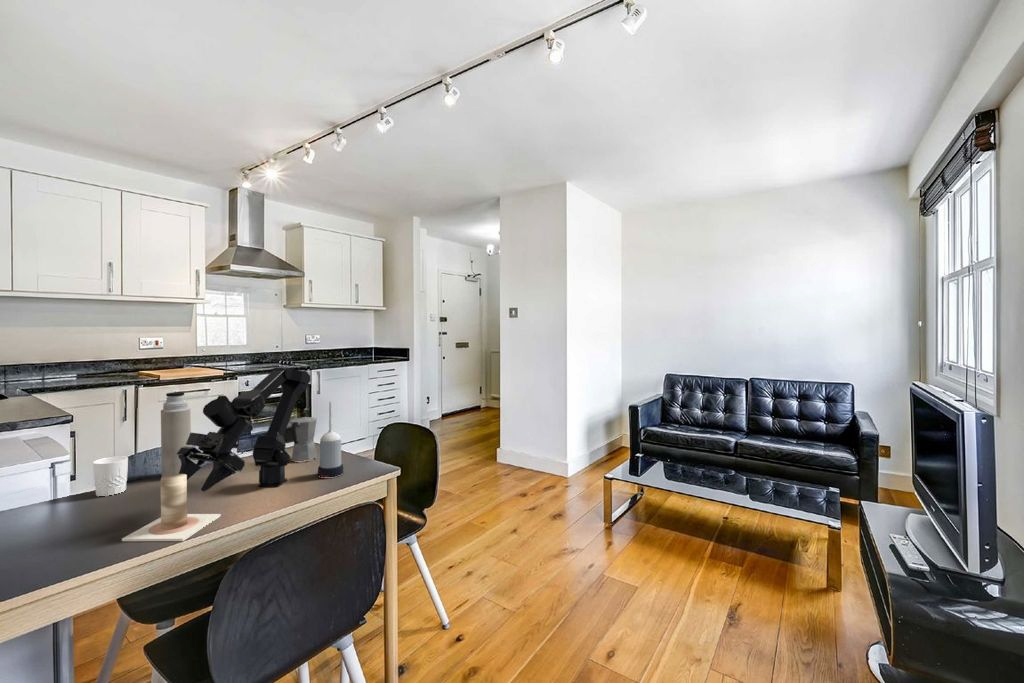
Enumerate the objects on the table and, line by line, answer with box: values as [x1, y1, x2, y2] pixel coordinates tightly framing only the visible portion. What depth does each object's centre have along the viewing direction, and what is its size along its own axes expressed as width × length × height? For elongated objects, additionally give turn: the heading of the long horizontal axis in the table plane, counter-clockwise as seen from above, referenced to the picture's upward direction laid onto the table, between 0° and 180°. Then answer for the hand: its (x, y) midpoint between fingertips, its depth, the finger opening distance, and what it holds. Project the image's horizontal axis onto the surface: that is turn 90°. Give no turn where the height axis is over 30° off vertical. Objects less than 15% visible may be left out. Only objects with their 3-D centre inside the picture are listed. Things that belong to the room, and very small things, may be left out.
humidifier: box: [317, 401, 344, 477], centre depth 153 cm, size 8×8×25 cm
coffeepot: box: [290, 411, 317, 461], centre depth 170 cm, size 15×9×18 cm, turn 179°
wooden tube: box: [160, 474, 188, 530], centre depth 112 cm, size 5×5×12 cm
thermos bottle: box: [160, 391, 192, 478], centre depth 151 cm, size 8×8×28 cm
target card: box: [121, 513, 221, 542], centre depth 112 cm, size 14×14×1 cm
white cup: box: [92, 455, 129, 497], centre depth 135 cm, size 8×8×10 cm
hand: (189, 488), depth 115 cm, fingers open, 9 cm apart
